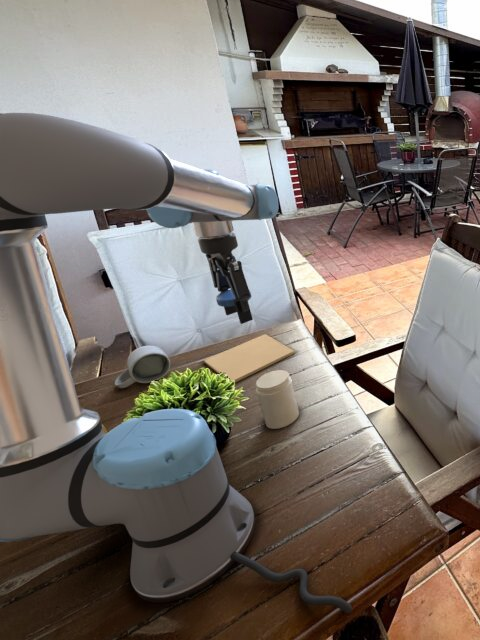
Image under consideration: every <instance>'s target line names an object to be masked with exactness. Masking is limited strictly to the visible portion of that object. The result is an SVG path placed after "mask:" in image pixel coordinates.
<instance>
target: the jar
mask: <svg viewBox="0 0 480 640" xmlns="http://www.w3.org/2000/svg"><path fill="white" fill-rule="evenodd" d="M255 387H256V389H255V391H256V395H257V399H258V402H259V406H260V409H261V413H262V416H263V420H264V423H265V426H266V427H267V428H268V429H272V430H276V429H282V428H286V427H287V426H289V425H291V424H293V423H294V422H295V421H296V420H297V419H298V417H299V415H300V411H299V406H298V401H297V397H296V394H295V389H294V385H293V380H292V378H291V376H290V374H289V372H288V371H286V370H283V369H277V370H272V371H269V372H267V373H264V374H263V375H261V376H260V377H259V378H258V379H257V380H256V382H255Z"/></svg>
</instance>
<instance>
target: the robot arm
mask: <svg viewBox="0 0 480 640" xmlns="http://www.w3.org/2000/svg"><path fill="white" fill-rule="evenodd" d="M100 210H102V211H103V210H132V211H144V210H146V213H147V214H148V216H149V218H150V219H151V220H152V221H153V222H154V223H155V224H157V225H158V226H160V227H162V228H167V229H177V228H180V227H185V226H188V225H189V224H192V226H193V230H194V233H195V236H196V237H198V239H197V242H198V245H199V250H200V252H201V253H202V254H204V255H205V257H206V260H207V262H208V266H209V270H210V275H211V278H212V279H211V280H212V283H213V288H214V289H217V291H218V293H222V292H224V291H227V290H232V293H233V295H234V297H235V300H233V303H235V306H229V307H223V309H224V312H225V315H226V316H230V315H234V314H236V313H237V317H238V321H239V324H241V325H242V324H246V323H248V322H250V321H253V320H254V318H253V315H252V312H251V311H252V310H251V307H250V304H249V300H247V298H250V297H251V298H252V294H251V295H250V292H251V291H250V292H249V290H250V289H249V286H248V283H247V279H246V277H245V276H246V275H245V273H244V271H243V266H242V265H243V264H242V261H241V260H237V259H236V257H235V255H233V253H232V252H233V251H234V250H236V249H237V248H238V246H239V244H238V240H237V236H236V233H235V232H234V231H235V230H234V229H235V228H234V226H233V223H232V222H234V221H262V220H269V219H270V220H271V219H274V218H275V217H276V216H278V212H279V198H278V195H277V191H276V190H275V188H274V187H273V186H271V185H269V184H258V183H255V184H246V183H242V182H239V181H236V180H233V179H230V178H228V177H225V176H221V175H220V174H219V172H217V171H216V170H214V169H201V168H198V167H195V166H193V165H190V164H186V163H183V162H180V161H177V160H175V159H172V158H170V157H169V156H168V155H167V153H165V152H164V151H162V150H161V149H160V148H158V147H157V146H155V145H152V144H150V143H147V142H145V141H142V140H139V139H137V138H134V137H131V136H129V135H125V134H123V133H119V132H116V131H113V130H109V129H106V128H103V127H99V126H96V125H92V124H88V123H84V122H81V121H77V120H74V119H69V118H64V117H60V116H54V115H50V114H42V113H34V112H6V113H0V542H3V543H11V542H16V541H19V542H21V541H25V540H26V541H27V540H29V539H32V538H35V537H40V536H41V537H42V536H47V535H54V534H60V533H66V532H72V531H79V530H85V529H92V528H99V527H104V526H110V525H116V524H121V525H124V527H125V528H126V530H127V532H128V535H129V536H130V538H131V540H132V548H131V558H130V569H129V570H130V571H129V575H130V582H131V586H132V587H133V590H134V591H135V593H136V594H137V596H138V597H139V598H140V599H142V600H143V601H146V602H149V603H153V604H164V603H170V602H174V601H175V602H176V601H178V600H181V599H184V598H186V597H189V596H191V595H193V594H195V593H198V592H199V591H201V590H203V589H205V588H206V587H207V586H209V585H211V584H212V583H214V582H215V581H217V579H218V578H220V577H221V576H222V575H224V574H225V573H226V572H227V571H229V570H230V568H232V566H233V565H234V564H236V563H238V564H240V565H242V566H244V567H246V568H248V569H250V570H252V571H254V572H256V573H257V574H258V575H260V576H261V577H263V578H264V579H266V580H268V581H270V582H275V583H283V582H286V581H289V580H291V579H294V578H299V580H300V581H299V590H298V591H299V597H300V599H301V600H302V601H303V602H304V603H306V604H308V605H311V606H331V607H336V608H338V609H340V610H341V611H342V612H343V613H345V614H349V613H351V612H352V610H353V607H352V605H351V604H350V603H349V602H347V601H346V600H345V599H343V598H341V597H340V596H335V595H313V594H311V593H309V591H308V582H309V581H308V580H309V576H308V573H307V572H306V571H305V570H304V569H303V568H294V569H292V570H289V571H287V572H283V573H278V572H275V571H272V570H270V569H269V568H267V567H266V566H264V565H263V564H261V563H260V562H258V561H256V560H254V559H252V558H250V557H248V556H246V555H243V553H244V552H245V550H246V549H247V548H248V546H249V545H250V542H251V541H252V539H253V536H254V533H255V528H256V522H257V520H256V514H255V512H254V508H253V506H252V504H251V503H250V501H249V500H248V499H247V497H245V496H243V494H241V493H240V492H239V491H237V490H236V488H234V487H233V486H231V484H230V483H229V480H228V476H227V475H226V474H227V473H226V471H225V469H224V465H223V462H222V459H221V456H220V453H219V451H218V447H217V440H216V437H215V435H214V433H213V432H212V430H211V429H210V428H209V425H208V423H207V421H206V419H204V418H203V416H201V415H200V414H198V413H197V412H195V411H193V410H189V409H184V408H166V409H165V408H164V409H158V410H153V411H150V412H149V411H148V412H146V413H143V415H142V416H140V417H138V418H137V417H131V418H129V419H127V420H126V421H123V422H121V423H120V424H118V425H117V426H115V427H113V428H112V429H111V430H109V431H107V434H105V433H104V430H103V426H104V425H103V423H102V420H101V419H102V418H101V415H100V414H99V413H98V412H97V411H94V410H90V409H86V408H82V407H81V404H80V401H79V396H78V394H77V389H76V387H75V383H74V379H73V375H72V372H71V367H70V364H69V361H68V358H67V354H66V350H65V347H64V343H63V340H62V337H61V334H60V330H59V326H58V322H57V319H56V315H55V312H54V308H53V304H52V300H51V297H50V294H49V291H48V290H49V289H48V287H47V284H46V280H45V276H44V272H43V269H42V265H41V261H40V258H39V255H38V252H37V248H36V243H35V242H36V240H37V238H38V237H39V236H40V235H42V234H43V233H44V232H45V231H46V230H47V229H48V228H49V224H48V221H47V217H46V215H56V214H68V213H69V214H70V213H77V212H88V211H100ZM251 298H250V299H251ZM102 425H103V426H102Z"/></svg>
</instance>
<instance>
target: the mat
mask: <svg viewBox="0 0 480 640" xmlns="http://www.w3.org/2000/svg"><path fill="white" fill-rule="evenodd" d="M294 354H295V350H294V349H292V348H290V347H288V346H287V345H285V344H283V343H282V342H280V341H278V340H276V339H275V338H273V337H272V336H270V335H268V334H266V333H264V334H261V335H259V336H257V337H255V338H253V339H250V340H248V341H246V342H243V343H241V344H238V345H236V346H233V347H231V348H229V349H227V350H225V351H222V352H220V353H217V354H215V355H213V356H211V357H208V358H206V359H204V360H203V363H204V364H205V365H207V366H208V367H209V368H211V369H212V370H213V371H214V372H216V373H217V374H218V373H220V372H225V373H226V374H227V376H228V378H230V379H232V380H235V383H237V382H239V381H241V380H243V379H245V378H248V377H249V376H252V375H253V374H256V373H258V372H260V371H261V370H264V369H266V368H268V367H269V366H272V365H274V364H275V363H278V362H279V361H280V362H281V361H282V360H284V359H286V358H288V357H290V356H292V355H294Z"/></svg>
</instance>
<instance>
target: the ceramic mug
mask: <svg viewBox="0 0 480 640" xmlns="http://www.w3.org/2000/svg"><path fill="white" fill-rule="evenodd" d="M126 365H127V369H125V370H124V371H123V372H121V373H120V374H119V375H118V376H117V378H115V381H114V385H115V386H116V387H117V388H119V389H125V388H128V387H130V386H131V385H133V384H134V383H136V382H137V383H140V384H151V383H152V382H151V381H153V380H157V381H159V380H161V379H162V378H165V376H166V375H167V374H168V373H169V371H170V369H171V359H170V358H169V356H168V355H167V354H166V353H165V352H164V350H162V348H160V347H159V346H155V345H142V346H140V347H137V348H136V349H134V350H133V351H132V352H130V353H129V355H128V357H127V361H126ZM129 376H130V377H129ZM128 377H129V378H128Z"/></svg>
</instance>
